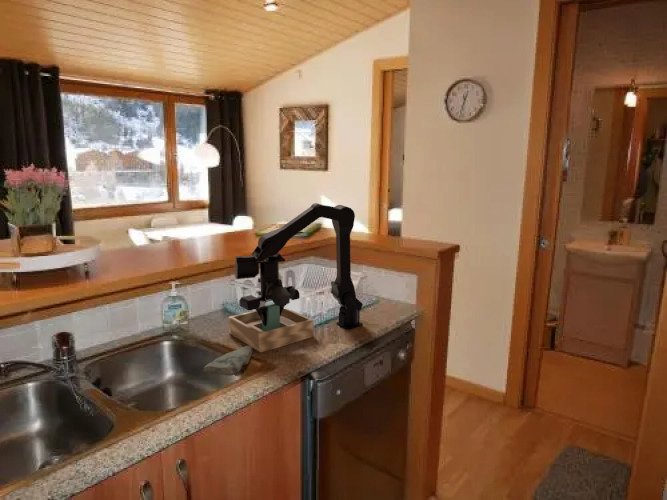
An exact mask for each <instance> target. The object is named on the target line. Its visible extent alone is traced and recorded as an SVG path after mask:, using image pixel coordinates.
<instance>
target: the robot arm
mask: <svg viewBox="0 0 667 500" xmlns="http://www.w3.org/2000/svg"><path fill="white" fill-rule="evenodd" d="M355 214H356V213H355V211H354V210H353V209H352V208H351V207H349V206H346V205H342V204H338V205H335V206H332V205H325V204H320V203H318V202H316V203H312V204H311V205H310V206H309V207H308V208H307V209H306V210H304V211H303V212H301V213H299V214H298V215H297V216H295V217H294V218H293V219H291V220H290V221H287V223H286V224H284V225H282V226H281V227H280V228H277V229H274V230H270V231H269V232H267V233H265V234H262V235H261V236H260V237H259V238H258V241H257V246H256V247H255V249H254V250H253V251H252V253H251V255H247V256H246V255H245V256H243V255H236V256H235V260H234V265H233V266H234V276H235V279H236V280H243V279H244V280H245V279H254V278H256V276H258V275H259V274H260V275H259V276H260V277H259V278H258V279H257V282H258V283H259V284H260V290H258V292H257V293H258V295H259V296H258V297H256V296H254V295H245V296H241V297H240V299H239V300H238V301H239V302H238V303H239V304H238V305H239V307H240V308H243V309H245V310H246V311H255V310H256V311H257V313H258V314H259V316H260V319H261V321H262V323H263V325H264V326H267V314H266V311H267V309H268V307H267V306H265V303H269V302H274V304H275V305H277V306H280V316H281V313H282V310H283V308H284V307H285V306H288V305H287V304H290V303H291V302H290V300H291V301H295V300H299V299H300V297H301V296H300V292H299V290H298V289H297V288H295V287H294V286H293V285H290V286H283V282H282V279H281V278H280V263H282V262H286V259H285V258H284V256H282V254H281V253H279V252H280V251H281V250H283V248H284V247H285V246H286V245H287V243H288V241H289V240H291V239H292V238H293V237H295V236H296V235H297V234H299V233H300V232H302V231H303V230H305V229H306V228H307V227H309V226H310V225H312V224H313V223H315V221H317V220H318V219H320V218H323V219H328V220H331V224H332V227H333V229H334V232H335V246H336V247H335V249H336V250H335V251H336V254H335V255H336V258H335V259H336V277H335V280H333V281H330V286H331V289H330V293H331V294H332V296H333V299H335V300H336V301H337V303H338V305H340V307H339V312H338V321H336V325H338V326H341V327H343V328H345V329H348V330H351V329H354V328H357V327H360V326H363V324H364V323H363V322H361V321H360V315H361V314H360V313H361V312H360V311H361V310H362V308H363V302H361V301H360V300H359V299H358V298H357V295H356V288H355V286H354V283H353V280H352V272H351V271H352V270H351V266H352V265H351V264H352V263H351V233H352V231H353V229H354V224H355V218H356V215H355Z"/></svg>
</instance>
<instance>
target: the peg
mask: <svg viewBox="0 0 667 500" xmlns="http://www.w3.org/2000/svg"><path fill="white" fill-rule="evenodd" d="M265 306H267V307H268V309H267V311H266V314H267V326H264V325H263V323H262V330H263V331H265V332H266V331H270V330H273V329H277V328H280V306H277V305H275V304H274V302H273V301H268V302H265Z"/></svg>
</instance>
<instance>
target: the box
mask: <svg viewBox="0 0 667 500" xmlns="http://www.w3.org/2000/svg"><path fill="white" fill-rule="evenodd" d="M289 309H290V308H288V309H284V308H283V310H282V313H281V316H280V328H277V329H273V330H270V331H266V332H265V331H263V330H262V321H261V319H260V316H259V314H258V313H257V311H256V309H254V310H250V311H248V312H244V313H239V314H235V315H230V316H228V328H229V329H228V331H229V335H230V336H233V337H235V338H236V339H238V340H239V341H241V342H243V343H244V344H247V346H251V347H252V348H253V350H256V351H258V352H260V353H264V352H267V351H270V350H274V349H277V348H280V347H284V346H287V345H290V344H293V343H297V342H300V341H303V340H307V339H309V338H313V337H314V319H313V318H311V317H308V316H306V315H303V314H302V313H300V312H296V311H294V310H292V309H290V310H289Z"/></svg>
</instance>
